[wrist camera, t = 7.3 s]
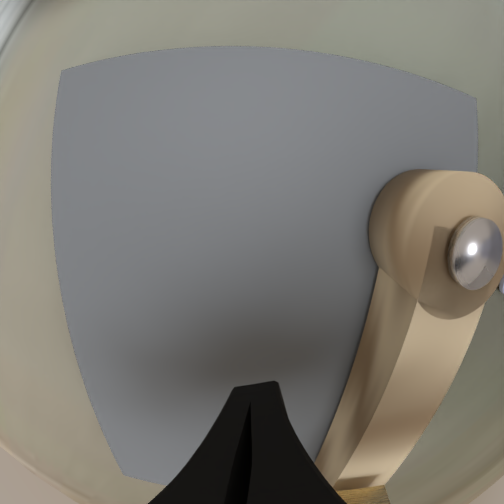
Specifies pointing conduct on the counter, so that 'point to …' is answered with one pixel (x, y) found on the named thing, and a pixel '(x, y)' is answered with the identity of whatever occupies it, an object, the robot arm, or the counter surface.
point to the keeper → (365, 495)
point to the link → (409, 323)
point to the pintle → (475, 252)
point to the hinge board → (229, 229)
